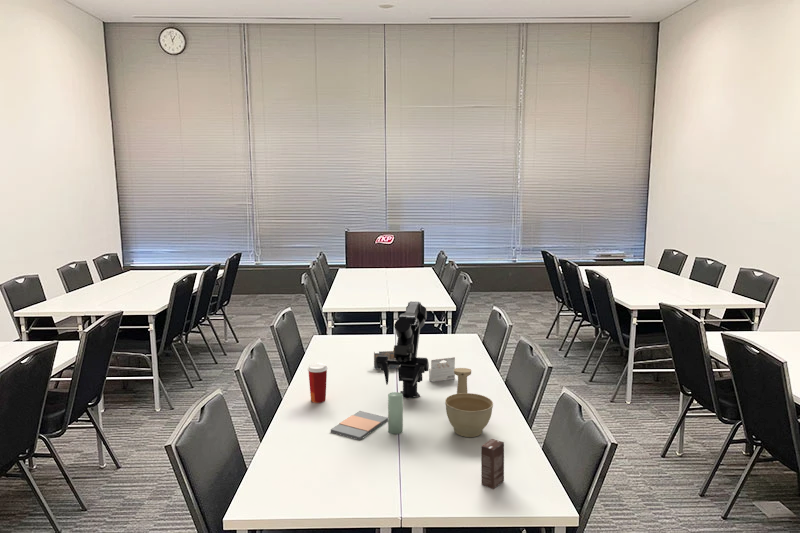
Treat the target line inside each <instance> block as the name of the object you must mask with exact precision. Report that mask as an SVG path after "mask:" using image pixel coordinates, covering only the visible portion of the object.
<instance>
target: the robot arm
mask: <svg viewBox="0 0 800 533" xmlns="http://www.w3.org/2000/svg"><path fill="white" fill-rule="evenodd" d="M407 303H408V304H407V306H406V307H405V312H404V313H400V314H399V317H397V319H396V320H395V323H394V330H395V333H396V337H397V342H396V344H395V345H394V346H393V350H394V358H395V360H391V359H388V356H383V355H378V356H377V357H376V364H377V367H378V368H379V369H378V370H380V371H382V372H383V374H384V379H385V385H386V386H387V385H389V376H390V375H389V374H390V373H389V372H390V368H388V367H389V365H400V366H399V368H397V369H398V373H397V376H398V382H402V390H400V392H399V393H402V394H403V399H411V398H418V397H421V394H420V393H419V392H418V383H421V382H423V374H425V372H429V369H430V368H429V367H430V365H429V364H430V363H429V359H428V358H427V357H418V348H419V343H420V342H419V341H420V339H419V338H420V333H421V329H422V328H423V327H424V326H425V322H426V321H427V317H428V311H427V307H425V306H424V305H423V304H422V303H421V301H408V302H407Z"/></svg>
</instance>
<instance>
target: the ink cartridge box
mask: <svg viewBox="0 0 800 533" xmlns="http://www.w3.org/2000/svg"><path fill="white" fill-rule="evenodd" d="M442 361H446V362H442ZM430 362H431V363H430V368H429V370H428V380H429V382H439V381H450V380H455V379H456V375H455V374H454V369H455V368H456V367H455V365H456V357H447V358H439V359H438V358H436V359H431V361H430Z"/></svg>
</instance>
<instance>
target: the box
mask: <svg viewBox="0 0 800 533" xmlns="http://www.w3.org/2000/svg"><path fill="white" fill-rule="evenodd" d="M480 446H481V447H480V448H481V453H480V454H481V457H480V460H481V468H480V469H481V470H480V471H481V475H480V476H481V478H480V480H481V481H480V482H481V485H482V486H485V487H486V488H489V489H492V490H494V489H495V488H497V487H498V486H500V485H501V484H502V483H503V482H504V481H505V442H504V441H501V440H498V439H494V438H491V439H489V440H488V441H487V442H485V443H484V444H482V445H480Z"/></svg>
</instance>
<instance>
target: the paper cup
mask: <svg viewBox="0 0 800 533" xmlns="http://www.w3.org/2000/svg"><path fill="white" fill-rule="evenodd" d="M307 371H308V382H309V394H310V395H309V396H310V401H311V403H313V404H321V403H324V402H325V401H326V400H327V399H326V398H327V397H326V395H327V374H328V373H327V372H328V366H327V364H325V363H321V362H314V363H311V364H309V365H308V367H307Z"/></svg>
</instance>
